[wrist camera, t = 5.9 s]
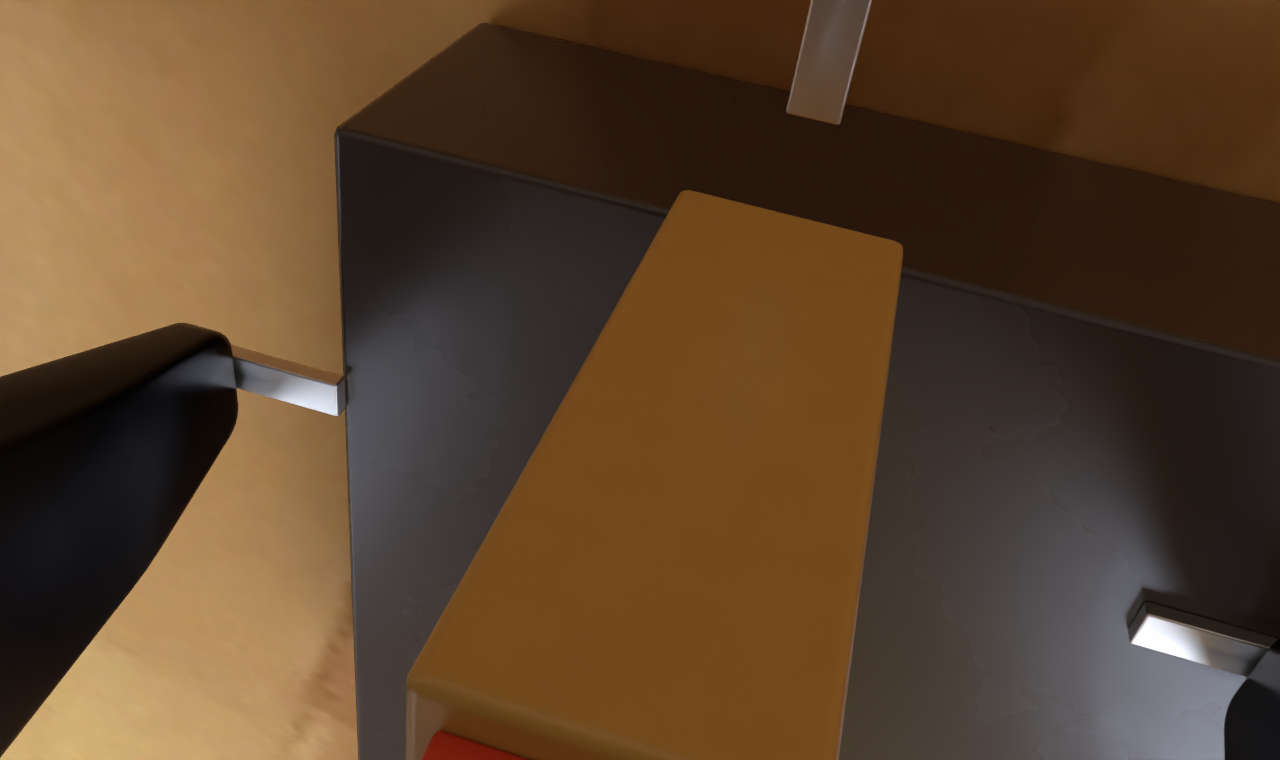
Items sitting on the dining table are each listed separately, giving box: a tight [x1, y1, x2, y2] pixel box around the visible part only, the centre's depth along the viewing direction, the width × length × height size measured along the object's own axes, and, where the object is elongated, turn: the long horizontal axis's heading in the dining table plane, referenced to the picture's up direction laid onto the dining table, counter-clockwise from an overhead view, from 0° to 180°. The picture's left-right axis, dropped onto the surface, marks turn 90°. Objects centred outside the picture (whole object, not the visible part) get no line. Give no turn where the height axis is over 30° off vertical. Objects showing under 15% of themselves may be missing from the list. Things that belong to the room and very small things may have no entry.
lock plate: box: [231, 0, 1280, 760], centre depth 11 cm, size 14×13×3 cm
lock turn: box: [405, 190, 903, 760], centre depth 7 cm, size 6×2×5 cm, turn 172°
